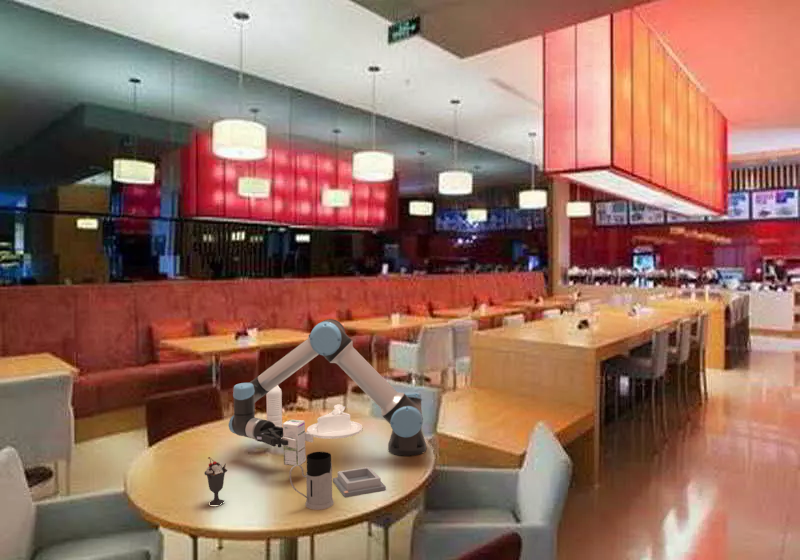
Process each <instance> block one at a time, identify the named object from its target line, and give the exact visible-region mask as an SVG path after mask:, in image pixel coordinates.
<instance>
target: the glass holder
mask: <svg viewBox="0 0 800 560" xmlns="http://www.w3.org/2000/svg"><path fill="white" fill-rule="evenodd" d="M297 467H299V468H300V469H301V475H302V477H303V478H305V479H306V480H305V481H306V482H305V483H306V495H305V494H304V493H303V492H300V491H299V490H298V489H297V488H296V487H295V486H294V484H293V481H292V472H293V469H294V468H297ZM305 473H306V475H304V468H303V466H302V465H294V466H291V468H290V469H289V482H290V485H291V487H292V489H293V490H294V491H295V492H297V493H298V494H300V495H301V496H303V497H304V498H306V501H305V503H304V504H305V505H304V506H305V507H306V508H307V509H309V510H310V509H311V510H314V511H315V510H317V511H320V510H325V509H326V510H327V509H328V508H331V507H332V506H333V505H334V503H335V502H334V499H333V465H332V454H331V453H330V452H327V451H315V452H311V453H309V454H307V455H306V472H305Z"/></svg>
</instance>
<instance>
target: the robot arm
mask: <svg viewBox="0 0 800 560" xmlns="http://www.w3.org/2000/svg"><path fill="white" fill-rule="evenodd" d="M353 345H354V343H353V339H351V337H350V336H349V335H347V333H346V330H345V327H344V325H343V324H342V323H341V322H340V321H338V320H336V319H331V318H327V319H325V320H322V321H321V322H319V323H317V324H316V325H314V327H313V328H312V330H311V332H310V333H309V334H308V335H307V339H306V340H304V341H303V342H301V343H300V344H299V345H297V346H296V347H295V348H294V349H292V350H291V351H289V352H288V353H287V354H285V356H283V357H282V358H280V359H279V360H278V361H276V362H275V363H274V364H272V365H271V366H270V367H267V369H266V370H264V371H263V372H262V373H261V374H260V375H258V376H256V377H255V378H254V379H253V380H251V381H250V382H241V383H237V384H235V385H233V393H232V397H233V415H232V416H231V417H230V419H229V420H228V429H229V430H230V432H231V433H233V434H235V435H237V436H241V437H245V438H249V439H253V440H255V441H256V442H261V443H263V444H266V445H269V446H271V447H276V446H277V448H281V447H282V446H283V445H284V446H288V447H291V448H297V441H296V440H295V439H291V438H287V437H283V426H282V427H278V426H275V425H274V423H273V422H271V421H267V419H263V418H259V417H256V415H255V411H256V409H255V403H256V402H257V401H259V400H260V399H262V397H265V396H266V394H267V393H268V392H269V391H270V390H272V389H273V388H274V387H276V386H277V385H278V386H279V385H280V384H281V383H282V382H284V381H285V380H287V379H288V378H290V377H291V376H292V375H293V374H295V373H296V372H297V371H298V370H300V369H301V368H302V367H304V366H305V365H307V364H308V363H309V362H311V361H313V360H314V358H317V356H319V355H320V356H322V357H324V358H325V360H326V361H327V362H329V363H330V364H336V365H337V366H338V367H339V368H340V369H341V370H342V371H344V373H345V374H346V375H347V376H348V377H349V378H350V379H351V380H352V381H353V382H354V383H355V384H356V385H357V386H358V387H359V388H360V389H361V390H362V391H363V392H364V394H366V395H367V396H368V397H369V398H370V399H371V400H372V401H373V402H374V403H375V404H376V405H377V407H378V408H380V410H381V412H380V413H381V414H380V415H381V417H382V418H384V420H386V422H387V423H388V424H390V427H391V429H392V430H391V435H390V437H389V442H388V444H387V451H388V450H389V451H388V452H389V453H390V452H391V453H390V454H392V453H393V454H392V455H395V454H396V455H397V456H401V455H404V456H405V457H406V456H408V457H409V456H410V455H413V456H417V455H421V454H424V453H425V452H426V451H427V443H426V442H427V441H426V440H425V436H424V434H423V429H422V427H423V423H424V418H423V411H422V400H423V399H422V394H421V393H420V392H418V391H397V390H396V389H395V388H394V387H393V386H392V385H391V384H390V383H389V382H388V381H387V380H386V379H385V378H384V377H383V376H382V375H381V374H380V372H378V371H377V370H376V369H375V368H374V367H373V366H372V365H371V364H370V362H368V361H367V360H366V359H365V358H364V356H363V355H361V354H360V353H359V352H358V350H357V349H356V348H354V346H353ZM305 442H310V443H314V437H313V434H311V433H307V431H305ZM284 446H283V447H284ZM396 455H395V456H396ZM404 456H403V457H404Z"/></svg>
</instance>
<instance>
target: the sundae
mask: <svg viewBox="0 0 800 560" xmlns="http://www.w3.org/2000/svg"><path fill="white" fill-rule="evenodd" d="M207 459H209V460H210V462H209V463H208V467H207V468H206V470H205V471H204V476H206V477H207V483H208V488H209V490H210V491H211V492H212V493H213V495H214V496H213V500H211V502H210V501H209V502H210V505H220V504H221V503H223V502H224V501H225V500H223V499H220V498H219V493H220V491H222V489H223V488H224V487H223V486H224V482H225V481H224V480H225V474H226V473H227V471H228V469H227V468H226V466H227V463H224V465H223V464H222V463H220V462H218V461H215V460H212V457H211V456H208V457H207ZM212 461H213V462H212ZM220 506H221V505H220Z"/></svg>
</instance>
